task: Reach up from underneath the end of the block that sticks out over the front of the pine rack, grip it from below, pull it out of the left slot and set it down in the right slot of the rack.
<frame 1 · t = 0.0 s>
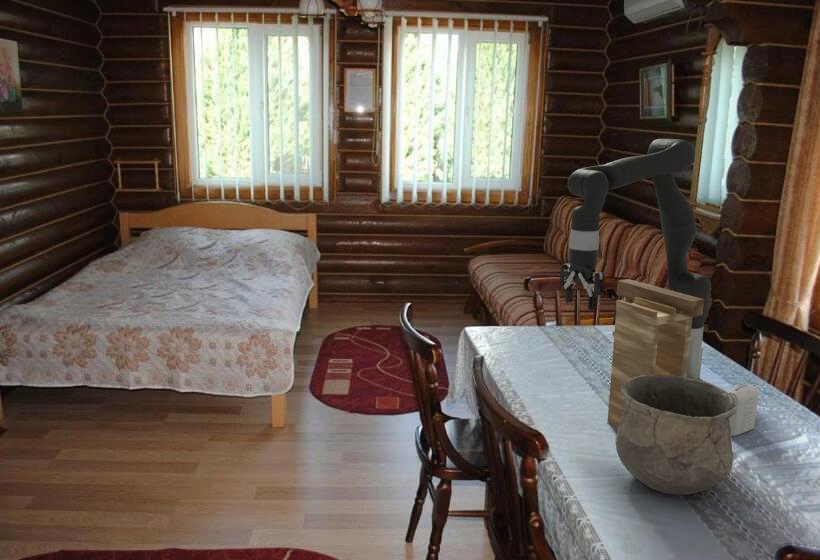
hand: (579, 305, 185), 29 cm above the table, tool pointing down, fingers open, 8 cm apart
pot: (668, 483, 153), on the table
block: (657, 304, 176), point 32 cm above the table, touching rack
picture frame: (651, 347, 244), on the table
photo printer: (737, 431, 178), on the table
rack: (643, 425, 181), on the table
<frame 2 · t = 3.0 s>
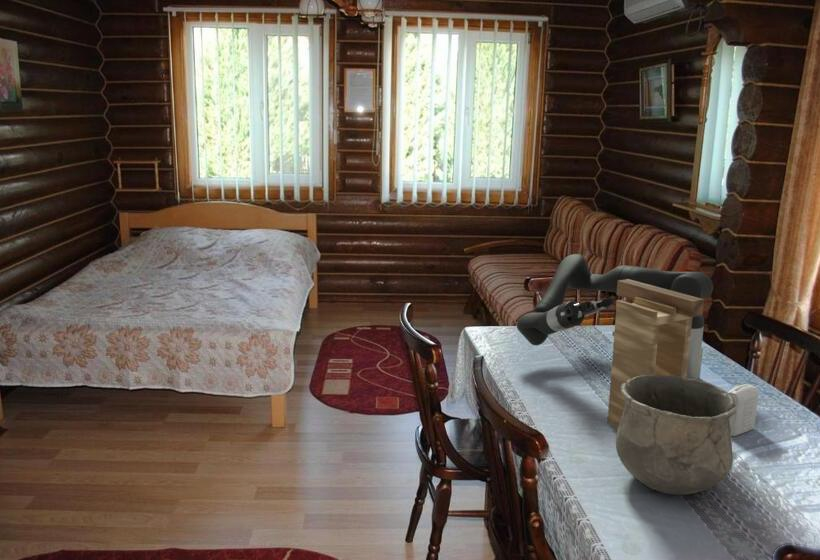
hand: (601, 302, 193), 28 cm above the table, tool pointing upward, fingers open, 8 cm apart
nothing on the table moved.
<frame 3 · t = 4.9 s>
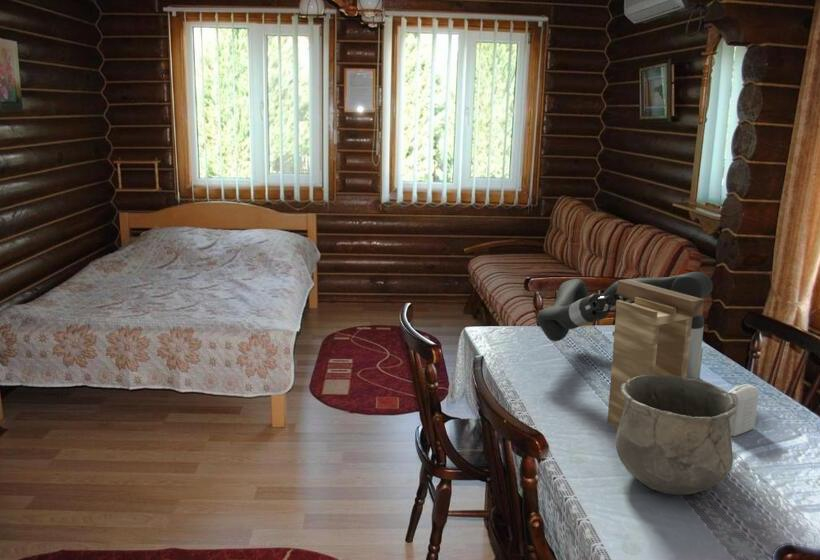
hand: (629, 294, 184), 33 cm above the table, tool pointing upward, fingers open, 8 cm apart
nothing on the table moved.
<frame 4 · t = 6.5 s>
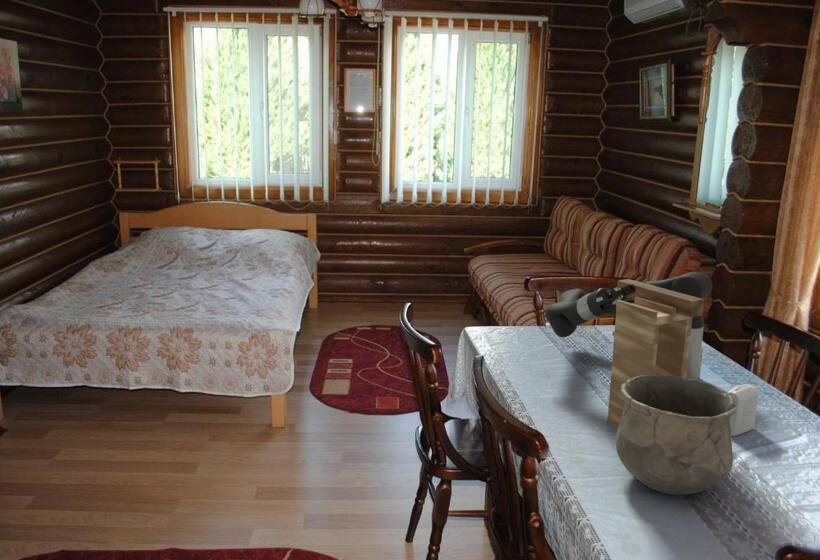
hand: (639, 286, 181), 35 cm above the table, tool pointing upward, fingers closed on block, 4 cm apart
block: (657, 304, 176), point 32 cm above the table, touching gripper, rack
everything else where it was.
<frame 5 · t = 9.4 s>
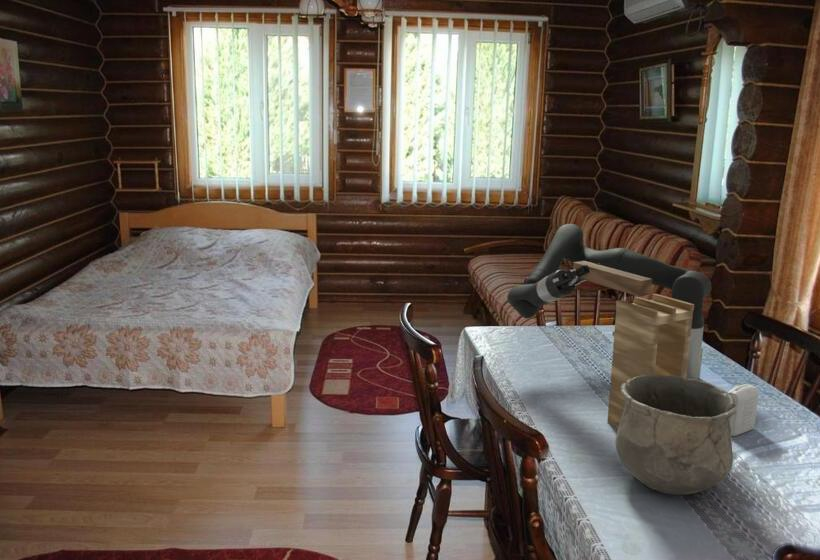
hand: (593, 267, 185), 39 cm above the table, tool pointing upward, fingers closed on block, 4 cm apart
block: (609, 285, 181), point 36 cm above the table, touching gripper
everything else where it was.
when the fingers open (36 cm above the table, at t = 12.2 s): block drops 1 cm, resting on rack.
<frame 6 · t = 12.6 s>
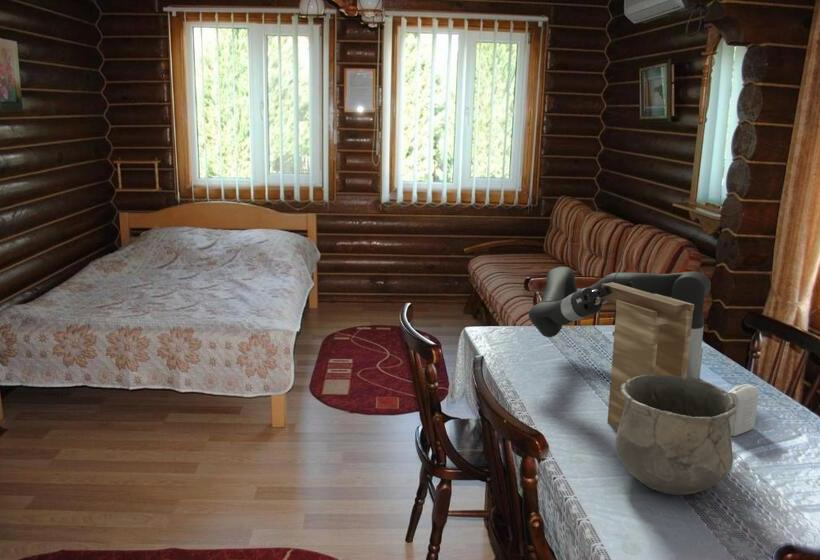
hand: (621, 287, 178), 36 cm above the table, tool pointing upward, fingers open, 8 cm apart
block: (640, 308, 173), point 32 cm above the table, touching rack
everything else where it was.
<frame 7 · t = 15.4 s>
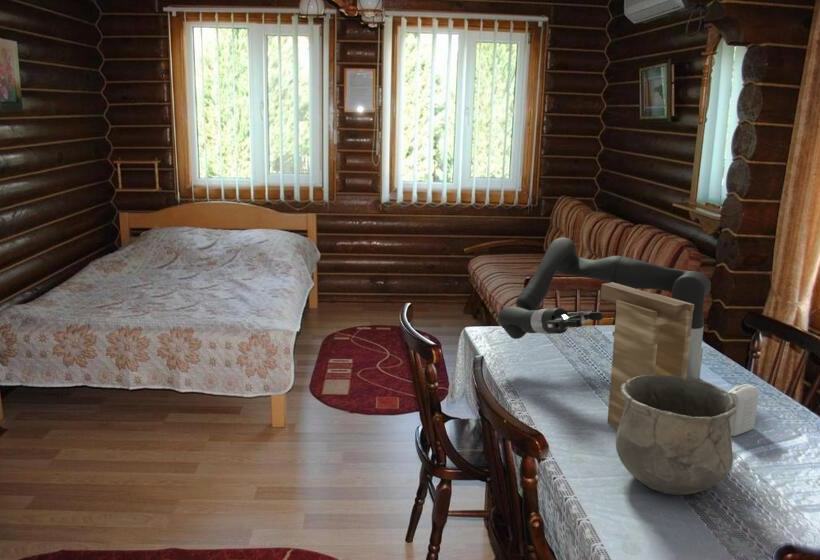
hand: (591, 319, 190), 24 cm above the table, tool pointing upward, fingers open, 8 cm apart
nothing on the table moved.
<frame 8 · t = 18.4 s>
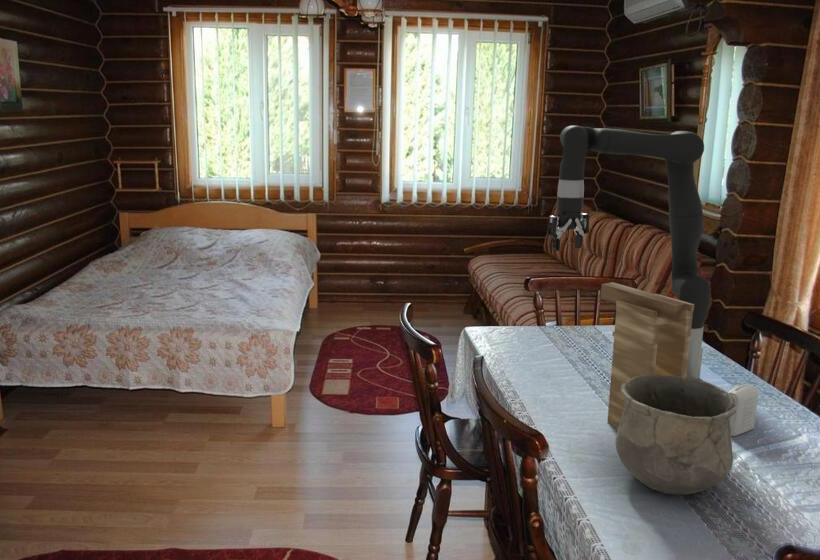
hand: (567, 249, 206), 40 cm above the table, tool pointing down, fingers open, 8 cm apart
nothing on the table moved.
at the end: block inside the target area (0.2 cm from its centre), point 32.0 cm above the table; the gripper is holding nothing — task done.
